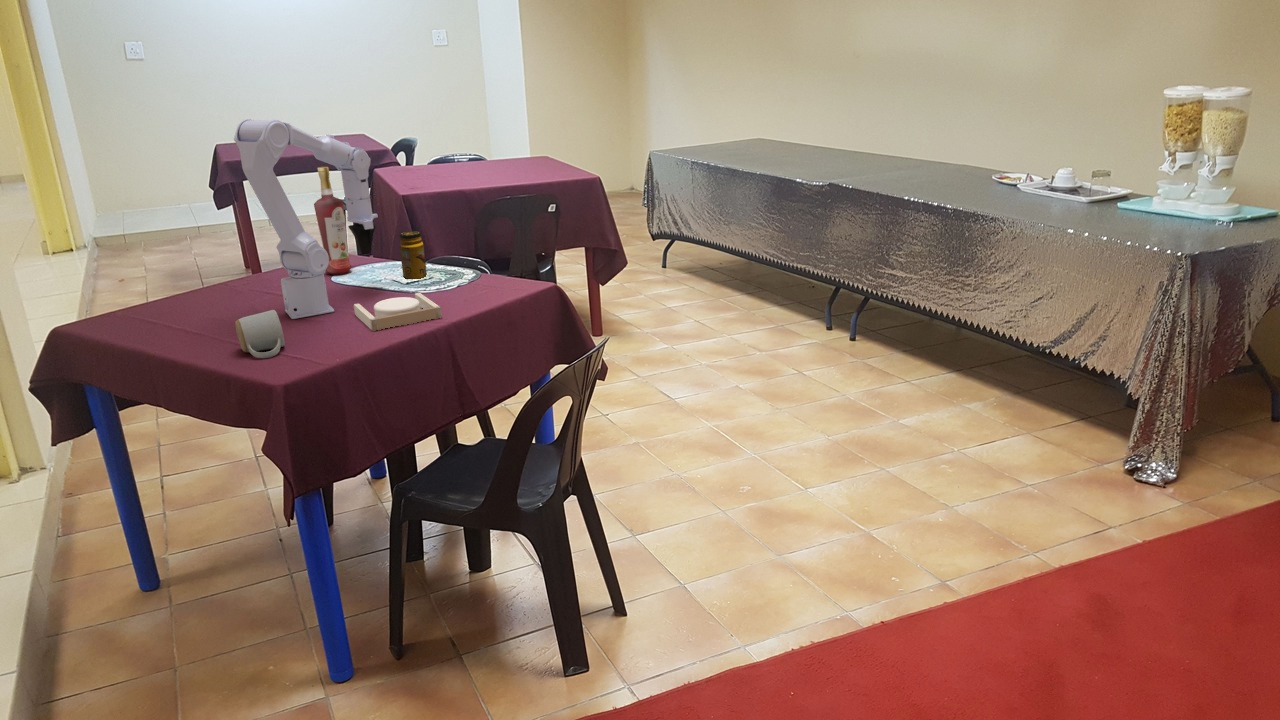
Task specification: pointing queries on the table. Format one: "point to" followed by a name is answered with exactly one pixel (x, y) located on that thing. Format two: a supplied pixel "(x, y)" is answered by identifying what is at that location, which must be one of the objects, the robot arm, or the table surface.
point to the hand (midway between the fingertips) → (365, 253)
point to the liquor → (332, 226)
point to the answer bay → (400, 315)
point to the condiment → (412, 255)
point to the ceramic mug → (260, 334)
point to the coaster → (396, 306)
